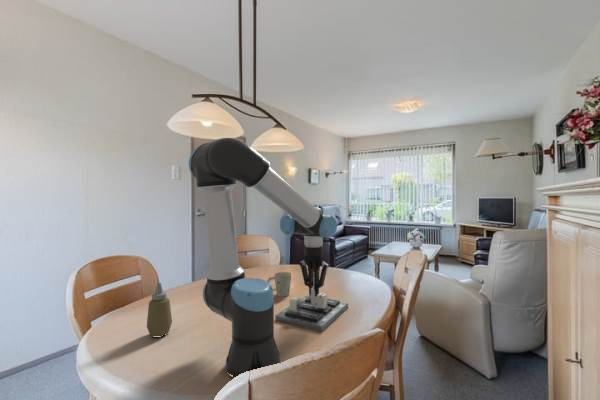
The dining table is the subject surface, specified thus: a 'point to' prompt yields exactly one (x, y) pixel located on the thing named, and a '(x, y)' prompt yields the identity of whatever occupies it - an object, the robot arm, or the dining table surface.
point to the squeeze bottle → (159, 313)
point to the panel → (311, 313)
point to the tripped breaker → (322, 300)
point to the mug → (282, 283)
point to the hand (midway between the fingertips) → (314, 303)
